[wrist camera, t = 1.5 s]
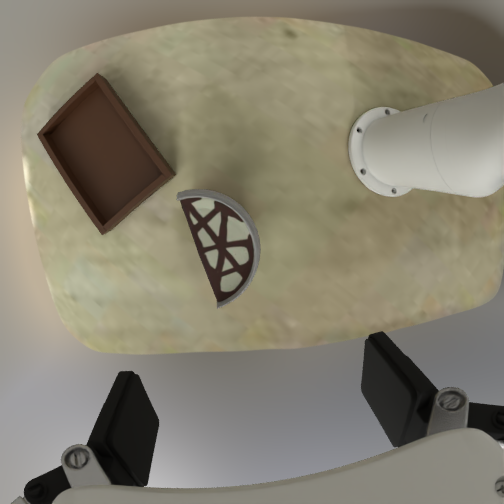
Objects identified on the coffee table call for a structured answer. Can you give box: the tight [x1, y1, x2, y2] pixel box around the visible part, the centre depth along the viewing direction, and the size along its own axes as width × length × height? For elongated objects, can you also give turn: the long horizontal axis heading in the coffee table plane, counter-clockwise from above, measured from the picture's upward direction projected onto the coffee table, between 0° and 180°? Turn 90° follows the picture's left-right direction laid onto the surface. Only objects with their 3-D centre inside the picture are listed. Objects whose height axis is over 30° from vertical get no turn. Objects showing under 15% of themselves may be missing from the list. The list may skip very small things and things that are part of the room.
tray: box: [37, 73, 176, 235], centre depth 31 cm, size 12×18×3 cm, turn 36°
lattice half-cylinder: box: [176, 189, 260, 308], centre depth 32 cm, size 12×6×10 cm, turn 17°
